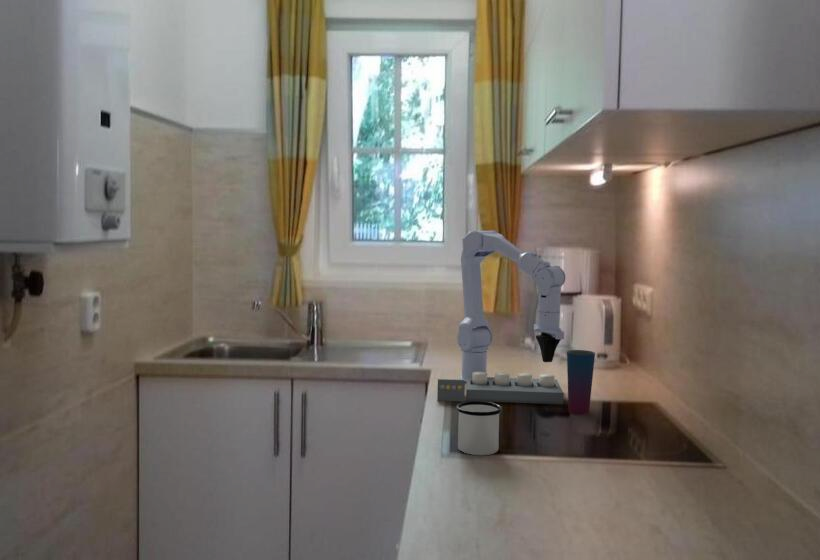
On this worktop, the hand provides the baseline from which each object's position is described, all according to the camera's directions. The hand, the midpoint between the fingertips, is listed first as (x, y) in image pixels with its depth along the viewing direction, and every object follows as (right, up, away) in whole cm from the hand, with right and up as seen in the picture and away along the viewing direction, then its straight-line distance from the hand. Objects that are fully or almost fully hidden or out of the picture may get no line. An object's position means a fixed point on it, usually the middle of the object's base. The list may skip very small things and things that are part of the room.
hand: (547, 361), depth 202 cm
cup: (+5, -11, -15) cm, 19 cm away
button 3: (-6, -7, +1) cm, 9 cm away
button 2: (-12, -7, +2) cm, 14 cm away
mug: (-23, -13, -46) cm, 53 cm away
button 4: (0, -7, +1) cm, 7 cm away
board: (-9, -9, +1) cm, 13 cm away
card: (-26, -9, -6) cm, 29 cm away
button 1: (-18, -7, +2) cm, 19 cm away
